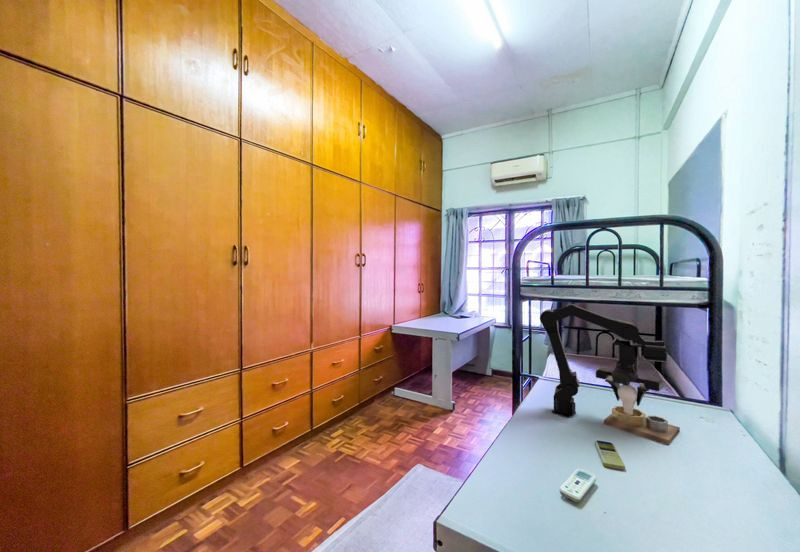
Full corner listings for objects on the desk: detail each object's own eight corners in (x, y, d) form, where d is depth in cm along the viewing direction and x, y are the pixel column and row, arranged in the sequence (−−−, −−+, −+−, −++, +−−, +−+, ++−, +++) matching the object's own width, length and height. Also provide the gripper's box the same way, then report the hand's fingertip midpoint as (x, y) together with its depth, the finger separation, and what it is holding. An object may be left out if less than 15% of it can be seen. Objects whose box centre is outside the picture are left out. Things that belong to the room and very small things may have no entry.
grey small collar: (644, 427, 107) (644, 418, 107) (649, 423, 110) (649, 414, 110) (664, 433, 102) (664, 424, 102) (669, 428, 106) (669, 419, 106)
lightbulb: (636, 413, 114) (636, 382, 114) (641, 421, 108) (640, 388, 108) (616, 411, 117) (615, 380, 116) (619, 417, 111) (619, 386, 111)
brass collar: (609, 419, 113) (609, 410, 113) (618, 412, 119) (618, 404, 119) (639, 428, 106) (639, 419, 106) (648, 420, 112) (647, 412, 112)
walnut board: (603, 424, 113) (603, 419, 113) (617, 413, 121) (617, 409, 121) (668, 445, 99) (668, 440, 99) (679, 431, 107) (679, 427, 107)
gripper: (589, 357, 115) (589, 400, 115) (653, 368, 100) (654, 418, 100) (601, 352, 122) (601, 393, 122) (663, 362, 107) (664, 409, 107)
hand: (627, 402), depth 112 cm, fingers closed on lightbulb, 5 cm apart
